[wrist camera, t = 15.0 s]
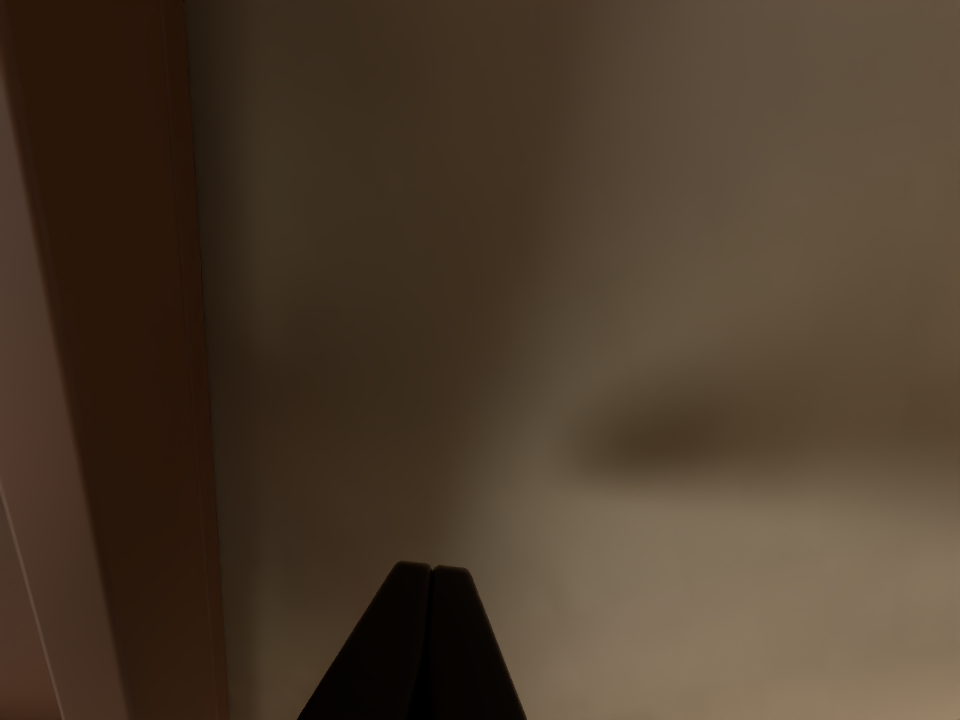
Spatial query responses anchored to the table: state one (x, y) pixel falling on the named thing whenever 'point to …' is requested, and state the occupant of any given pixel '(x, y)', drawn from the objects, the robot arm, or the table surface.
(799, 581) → the table surface
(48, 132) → the tray
